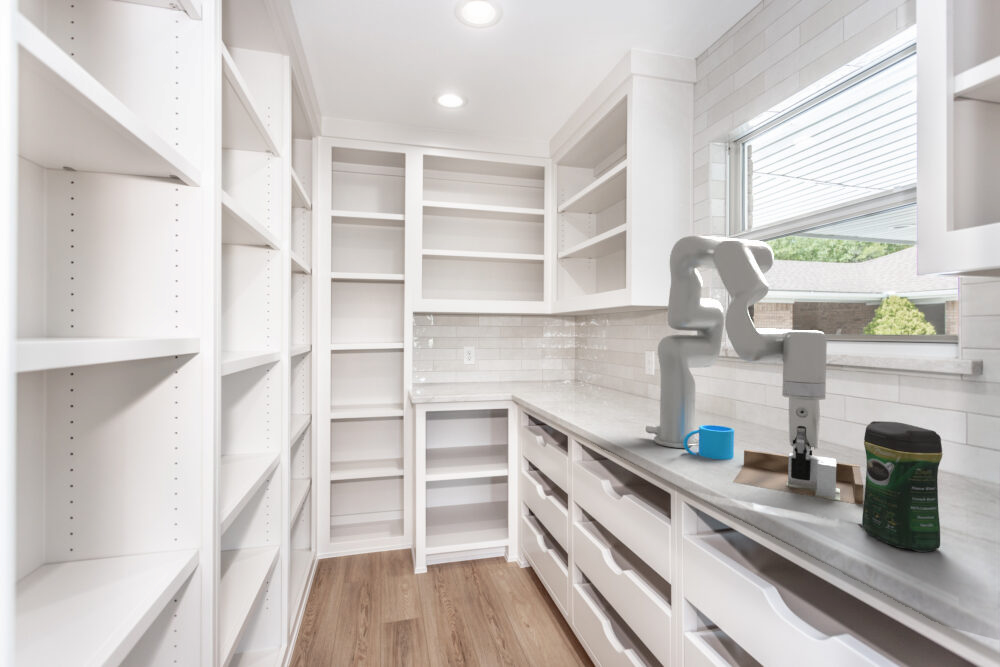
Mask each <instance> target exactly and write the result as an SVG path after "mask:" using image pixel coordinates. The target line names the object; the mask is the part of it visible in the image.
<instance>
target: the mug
mask: <svg viewBox="0 0 1000 667" xmlns="http://www.w3.org/2000/svg"><path fill="white" fill-rule="evenodd" d="M693 434H694V435H697V434H698V440H699V447H698V453H696V452H693V451H692V450H691V448H689V447H688V445H687V442H688V439H689V438H690V436H692V435H693ZM683 444H684V448H683V449H684V450H685V451H686V452H687V453H688V454H690V455H695V456H696V455H699V456H701V457H703V458H708V459H713V460H733V459H734V455H735V454H734V451H735V445H734V444H735V429H734V428H731V427H728V426H722V425H716V424H715V425H714V424H703V425H699V426H698V429H695V431H692V432H690V433H689V434H687V435H686V437H685V438H684V442H683Z"/></svg>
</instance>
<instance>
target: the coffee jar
mask: <svg viewBox="0 0 1000 667" xmlns="http://www.w3.org/2000/svg"><path fill="white" fill-rule="evenodd" d="M864 432H865V433H864V439H863V445H864V451H865V456H866V470H865V473H866V474H865V485H864V487H865V488H864V496H863V504H864V505H862V517H861V518H862V520H861V526H862V529H863V530H864V531H865V532H867V534H870V535H871V536H873V537H874V538H877V539H879V540H880V541H883V542H884V543H887V544H889V545H891V546H893V547H897V548H899V549H900V548H901V549H906V550H907V549H908V550H913V551H914V552H922V553H923V552H925V553H927V552H930V551H934V550H938V549H939V548H941V526H940V514H939V491H938V489H939V487H938V485H939V484H938V478H939V477H938V475H939V473H938V472H939V466H940V463H941V461H942V458H943V447H942V438H941V435H939V434H938V433H937V432H936V431H935V430H932V429H929V428H923V427H920V426H917V425H911V424H907V423H905V422H904V423H902V422H897V421H881V420H879V421H875V420H874V421H871V422H870V423H869V424H867V425H866V428H865V431H864Z"/></svg>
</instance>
